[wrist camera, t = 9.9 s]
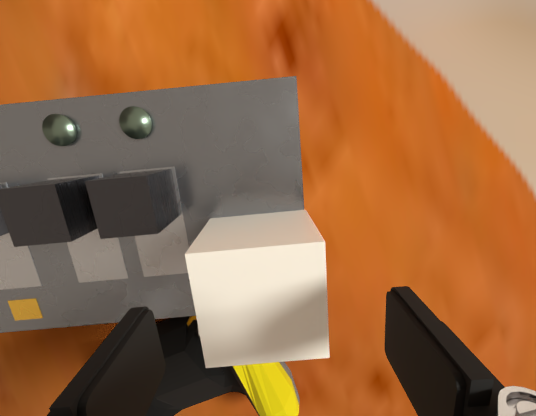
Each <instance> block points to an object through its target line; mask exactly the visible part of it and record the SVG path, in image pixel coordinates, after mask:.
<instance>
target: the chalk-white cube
mask: <svg viewBox="0 0 536 416" xmlns="http://www.w3.org/2000/svg"><path fill="white" fill-rule="evenodd" d="M185 259H186V264H187V270H188V275H189V280H190V286H191V291H192V296H193V302H194V307H195V313H196V318H197V323H198V329H199V334H200V339H201V345H202V350H203V356H204V361H205V366H206V368H214V367H226V366H237V365H249V364H261V363H272V362H284V361H296V360H307V359H319V358H330V356H329V330H328V304H327V279H326V253H325V241H324V239H323V237H322V236H321V234H320V232H319V231H318V229H317V227H316V226H315V224H314V222H313V221H312V219H311V218H310V216H309V214H308V213H307V211H306V210H296V211H285V212H274V213H264V214H253V215H242V216H231V217H220V218H210V219H209V221H208V222H207V224H206V225H205V226H204V228H203V229H202V231H201V232H200V233H199V235H198V236H197V238H196V239H195V240H194V242H193V243H192V245H191V246H190V247H189V249H188V250H187V252H186V253H185Z"/></svg>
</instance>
